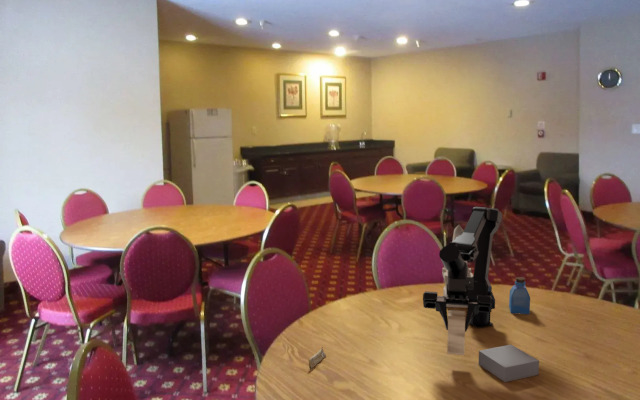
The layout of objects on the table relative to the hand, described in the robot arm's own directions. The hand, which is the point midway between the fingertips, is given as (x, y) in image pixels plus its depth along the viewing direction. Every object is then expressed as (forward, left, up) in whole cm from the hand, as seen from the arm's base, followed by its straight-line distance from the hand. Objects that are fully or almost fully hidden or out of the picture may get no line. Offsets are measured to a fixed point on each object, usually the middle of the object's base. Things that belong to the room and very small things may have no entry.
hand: (456, 330), depth 143 cm
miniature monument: (-31, -44, -11) cm, 55 cm away
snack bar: (+34, -18, -11) cm, 40 cm away
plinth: (-13, +6, -11) cm, 18 cm away
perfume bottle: (-46, -29, -11) cm, 56 cm away
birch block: (-1, -1, -7) cm, 7 cm away
